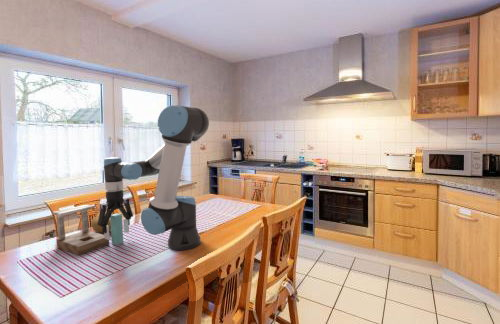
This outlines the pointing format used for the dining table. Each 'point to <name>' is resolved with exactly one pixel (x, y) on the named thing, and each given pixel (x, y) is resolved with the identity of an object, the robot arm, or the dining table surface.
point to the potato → (96, 227)
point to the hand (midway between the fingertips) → (117, 235)
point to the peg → (116, 228)
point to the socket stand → (81, 240)
